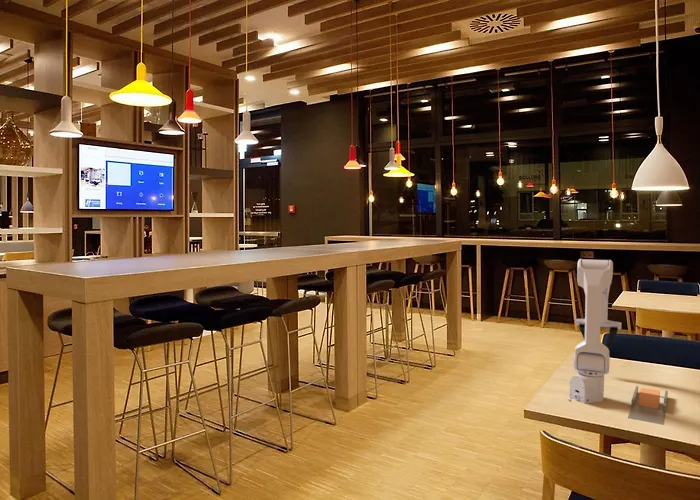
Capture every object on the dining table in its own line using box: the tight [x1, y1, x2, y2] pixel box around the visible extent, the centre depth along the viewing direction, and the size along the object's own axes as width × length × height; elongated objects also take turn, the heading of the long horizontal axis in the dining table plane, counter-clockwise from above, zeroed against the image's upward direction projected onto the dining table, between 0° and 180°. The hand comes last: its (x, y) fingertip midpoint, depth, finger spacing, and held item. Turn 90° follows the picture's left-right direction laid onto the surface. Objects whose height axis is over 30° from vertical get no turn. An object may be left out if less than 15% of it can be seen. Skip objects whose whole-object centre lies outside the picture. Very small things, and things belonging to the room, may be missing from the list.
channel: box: [627, 385, 669, 425], centre depth 153 cm, size 25×9×3 cm, turn 147°
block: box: [638, 387, 661, 409], centre depth 155 cm, size 5×5×4 cm
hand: (598, 345), depth 188 cm, fingers open, 7 cm apart
